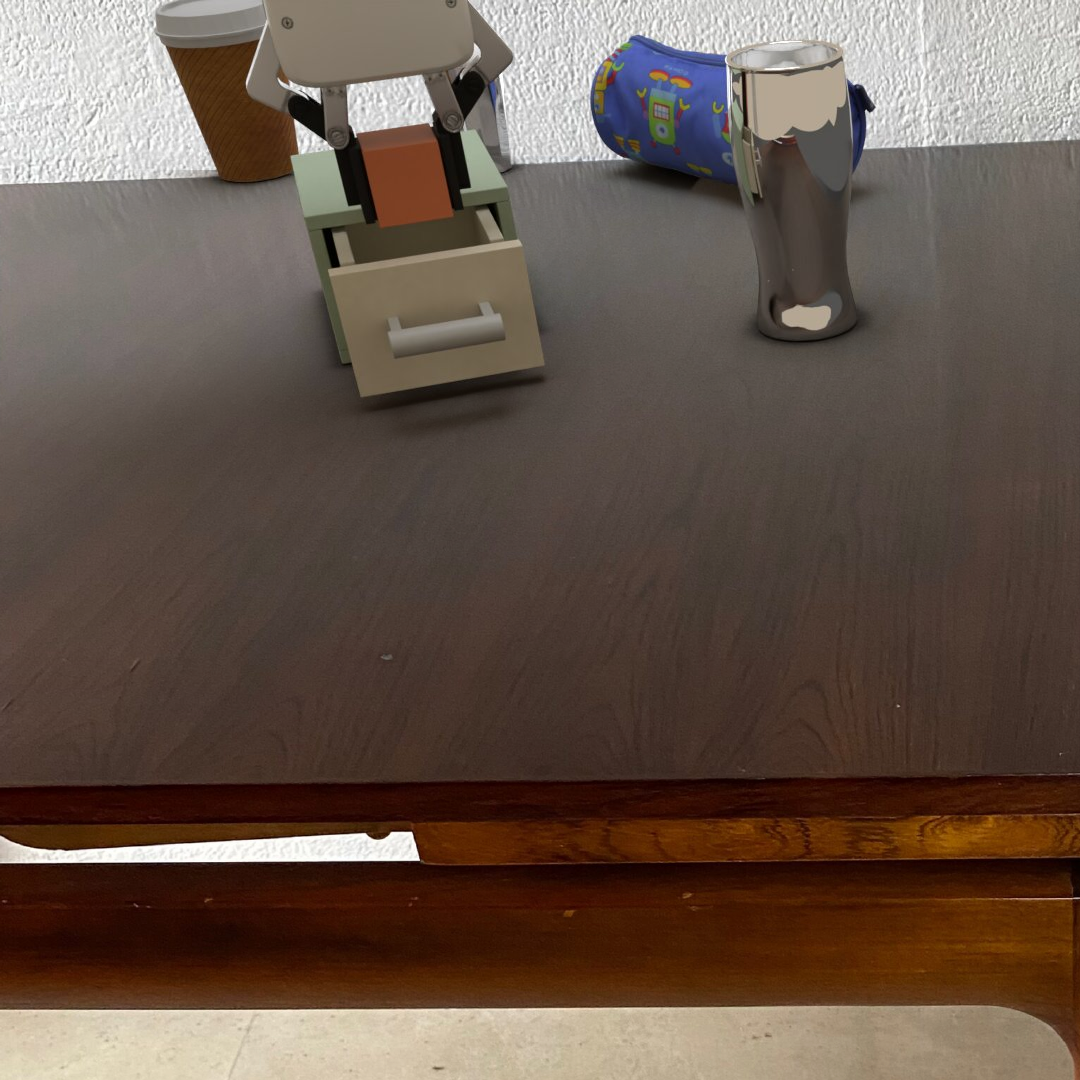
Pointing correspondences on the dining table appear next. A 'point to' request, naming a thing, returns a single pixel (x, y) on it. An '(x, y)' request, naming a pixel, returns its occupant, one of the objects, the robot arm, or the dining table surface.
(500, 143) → the milkshake
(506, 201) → the cabinet
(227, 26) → the disposable coffee cup
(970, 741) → the dining table surface
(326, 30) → the robot arm
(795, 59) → the beer glass
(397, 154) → the block
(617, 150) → the pencil case
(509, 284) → the drawer
